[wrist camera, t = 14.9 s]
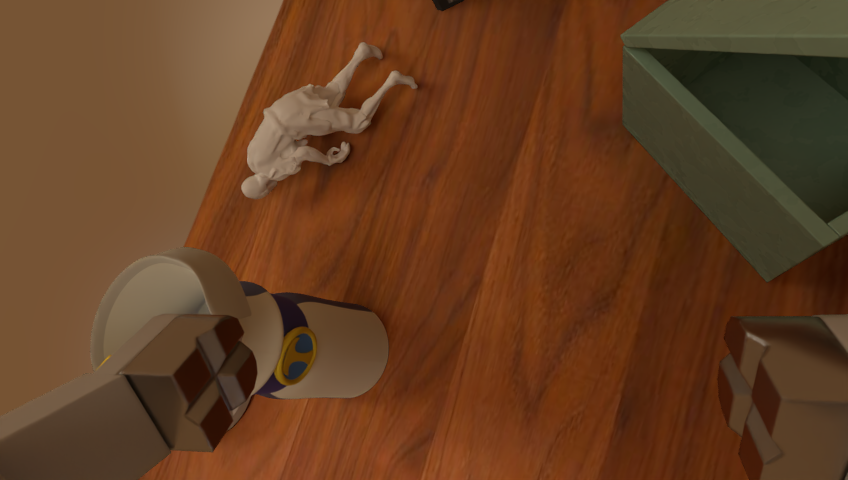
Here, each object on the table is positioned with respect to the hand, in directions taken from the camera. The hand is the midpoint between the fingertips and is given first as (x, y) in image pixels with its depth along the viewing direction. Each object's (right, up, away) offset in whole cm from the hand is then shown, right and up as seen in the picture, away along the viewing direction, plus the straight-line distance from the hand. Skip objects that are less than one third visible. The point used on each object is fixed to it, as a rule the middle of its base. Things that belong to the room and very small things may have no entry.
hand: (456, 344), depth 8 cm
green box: (+23, +8, +25) cm, 34 cm away
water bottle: (-7, -7, +33) cm, 34 cm away
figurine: (-9, +11, +39) cm, 41 cm away
